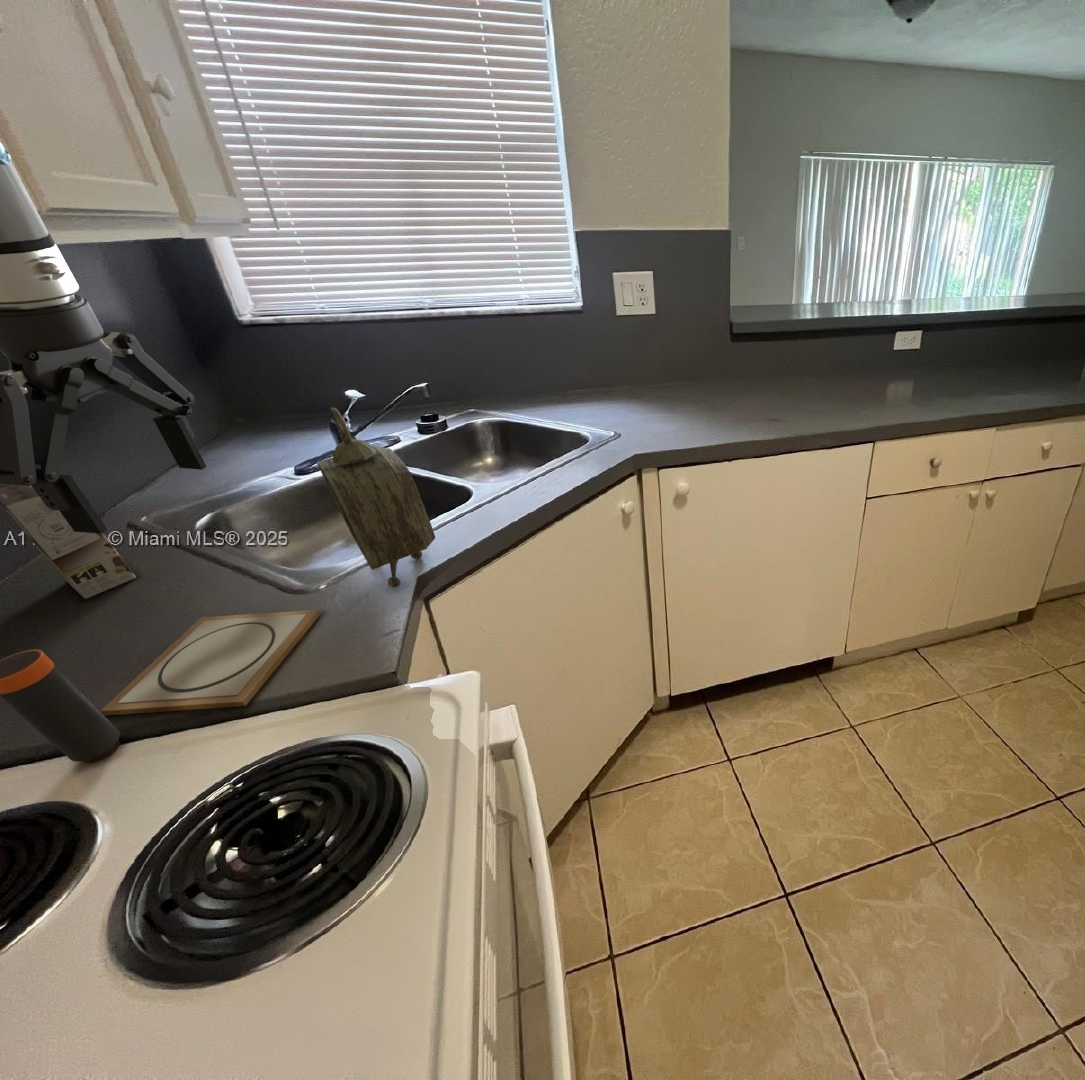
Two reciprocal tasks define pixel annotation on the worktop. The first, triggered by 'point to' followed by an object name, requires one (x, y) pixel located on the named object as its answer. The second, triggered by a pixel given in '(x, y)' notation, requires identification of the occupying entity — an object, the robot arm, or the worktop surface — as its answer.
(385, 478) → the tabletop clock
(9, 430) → the robot arm
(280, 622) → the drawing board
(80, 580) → the coffee box
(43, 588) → the worktop surface
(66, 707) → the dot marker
